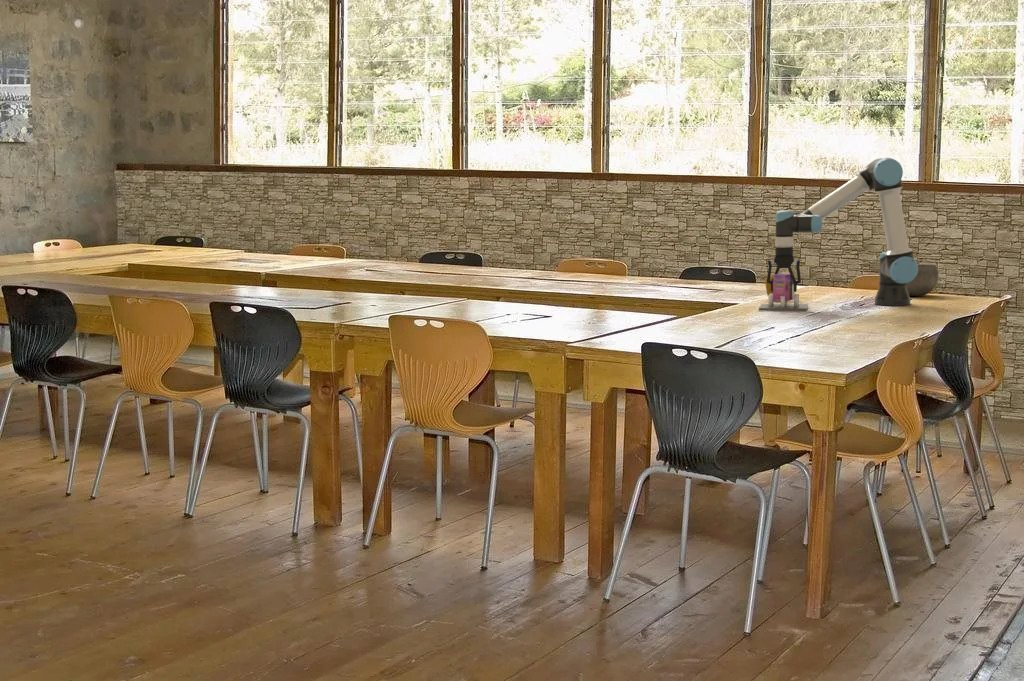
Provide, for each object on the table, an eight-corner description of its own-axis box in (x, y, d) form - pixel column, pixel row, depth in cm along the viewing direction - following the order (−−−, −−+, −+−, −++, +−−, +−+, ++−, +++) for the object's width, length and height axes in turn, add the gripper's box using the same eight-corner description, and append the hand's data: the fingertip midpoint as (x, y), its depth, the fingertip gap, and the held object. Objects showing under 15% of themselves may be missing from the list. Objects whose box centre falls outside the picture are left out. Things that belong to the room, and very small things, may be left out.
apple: (792, 299, 591) (792, 272, 590) (784, 302, 582) (784, 273, 581) (770, 299, 597) (770, 271, 595) (761, 301, 588) (761, 273, 586)
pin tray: (808, 307, 558) (808, 292, 557) (806, 311, 541) (806, 296, 540) (761, 306, 563) (761, 292, 562) (758, 310, 546) (758, 296, 545)
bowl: (900, 293, 613) (900, 262, 611) (943, 295, 601) (944, 263, 599) (885, 297, 596) (885, 265, 594) (929, 298, 584) (930, 266, 582)
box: (784, 302, 546) (785, 274, 544) (772, 301, 549) (772, 274, 548) (794, 299, 554) (795, 272, 552) (782, 299, 557) (782, 272, 556)
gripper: (808, 246, 550) (807, 298, 552) (761, 246, 555) (760, 298, 558) (807, 246, 542) (807, 300, 545) (760, 247, 548) (759, 300, 550)
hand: (783, 299), depth 551 cm, fingers closed on box, 7 cm apart
